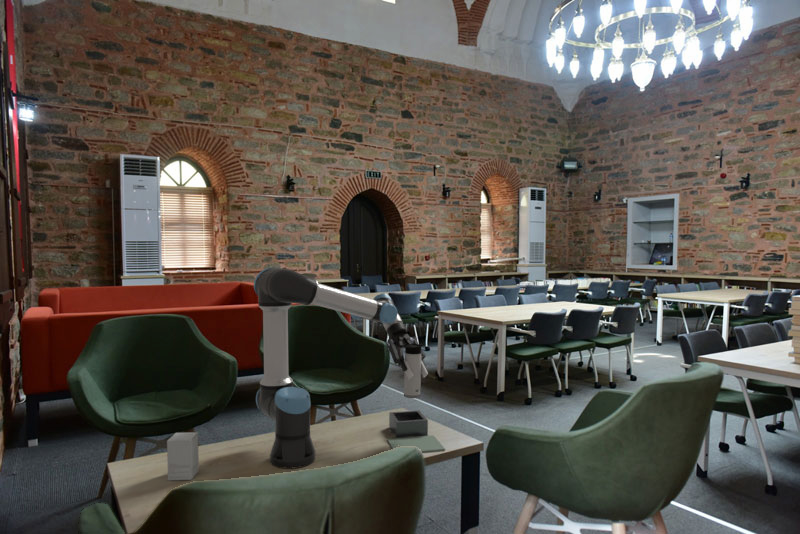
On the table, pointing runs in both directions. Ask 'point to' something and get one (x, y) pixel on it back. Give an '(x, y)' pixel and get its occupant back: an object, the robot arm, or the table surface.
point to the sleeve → (408, 424)
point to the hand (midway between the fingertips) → (418, 376)
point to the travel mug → (413, 371)
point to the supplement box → (182, 456)
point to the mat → (418, 443)
